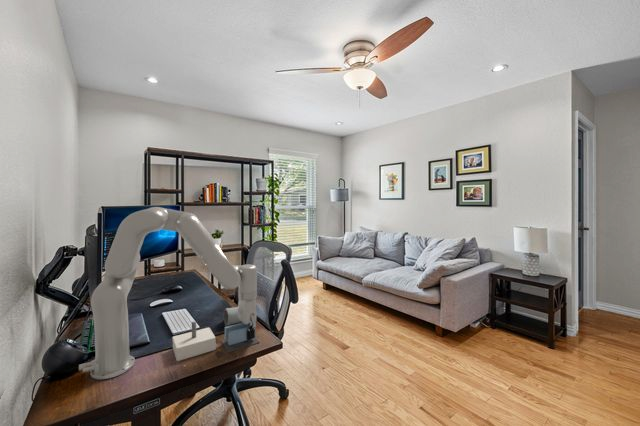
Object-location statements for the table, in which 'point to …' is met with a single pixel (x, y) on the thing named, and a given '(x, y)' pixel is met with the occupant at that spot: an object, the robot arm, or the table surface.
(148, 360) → the table surface
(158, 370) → the table surface
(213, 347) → the stand
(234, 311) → the white cylinder
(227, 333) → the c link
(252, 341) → the coaster
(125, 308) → the robot arm
